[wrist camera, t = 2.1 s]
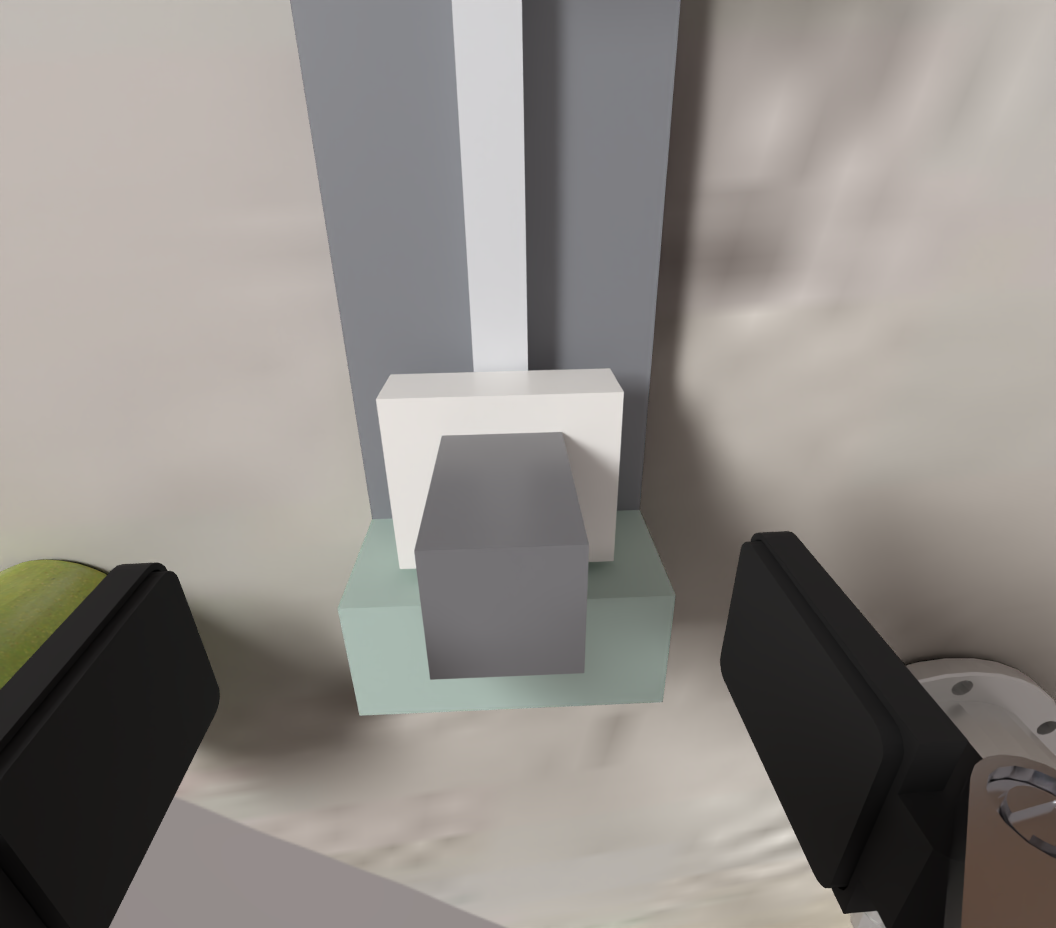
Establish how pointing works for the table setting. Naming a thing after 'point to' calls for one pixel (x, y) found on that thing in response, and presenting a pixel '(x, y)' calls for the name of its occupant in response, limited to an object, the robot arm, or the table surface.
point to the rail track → (495, 274)
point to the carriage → (503, 510)
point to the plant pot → (37, 606)
